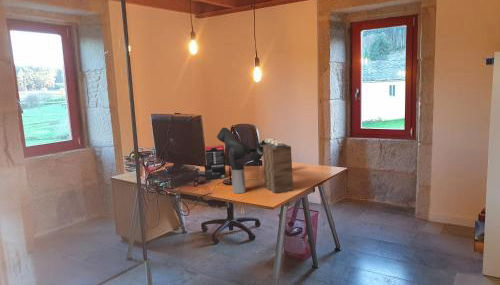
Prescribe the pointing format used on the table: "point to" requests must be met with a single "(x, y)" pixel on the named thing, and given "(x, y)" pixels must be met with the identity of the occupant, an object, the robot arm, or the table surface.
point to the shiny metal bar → (272, 141)
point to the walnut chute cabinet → (278, 167)
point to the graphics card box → (215, 162)
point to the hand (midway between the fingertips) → (269, 140)
